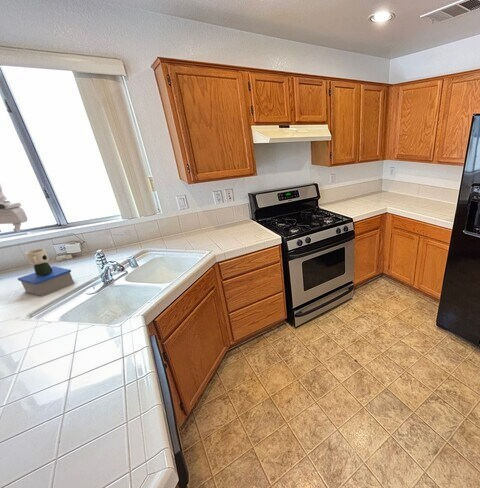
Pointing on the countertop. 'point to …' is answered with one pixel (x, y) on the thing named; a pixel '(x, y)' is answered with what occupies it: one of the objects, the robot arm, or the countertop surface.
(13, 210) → the robot arm
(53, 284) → the storage tub
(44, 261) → the character mug
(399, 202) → the countertop surface
